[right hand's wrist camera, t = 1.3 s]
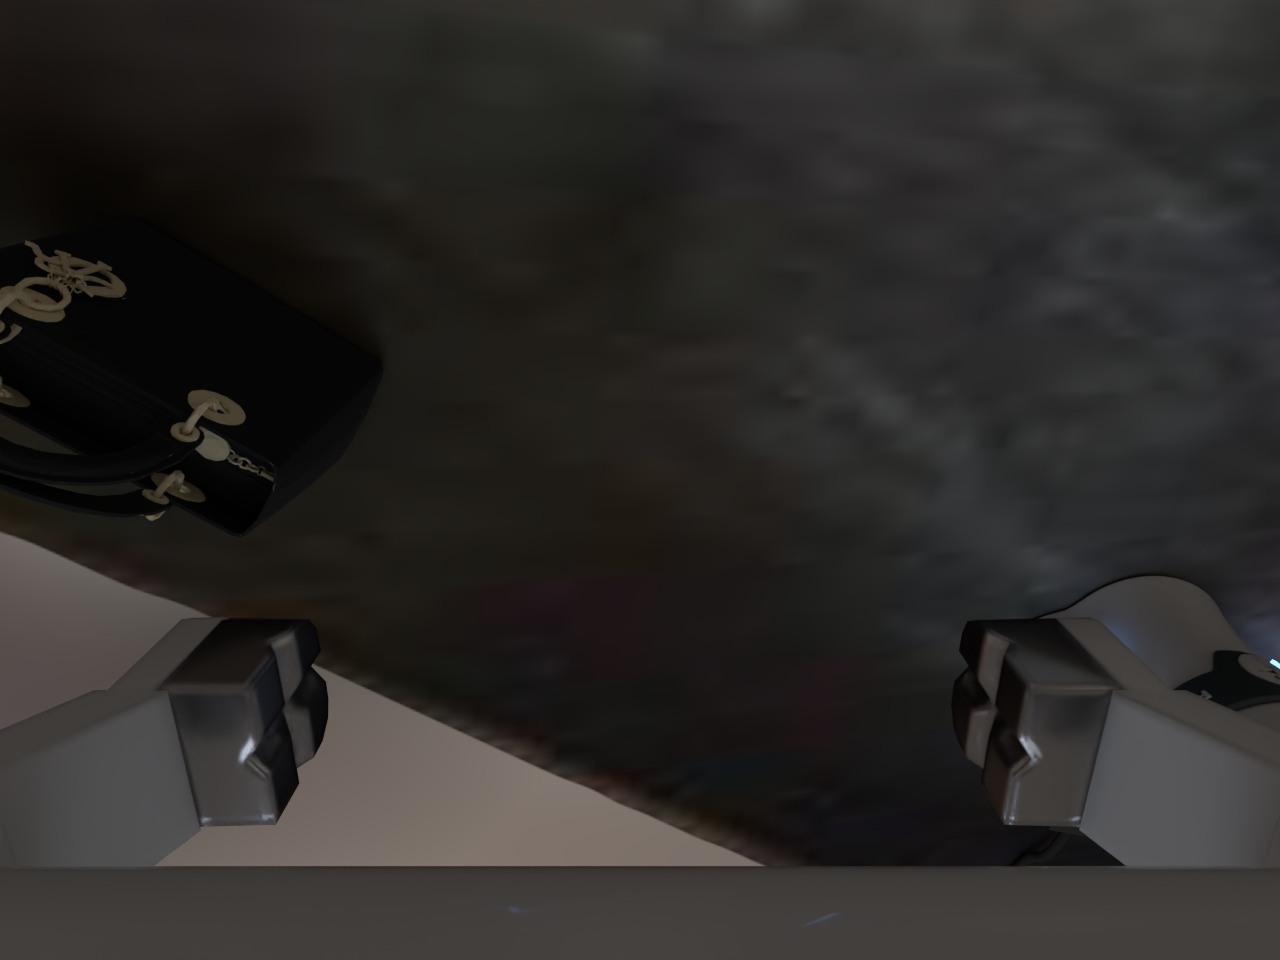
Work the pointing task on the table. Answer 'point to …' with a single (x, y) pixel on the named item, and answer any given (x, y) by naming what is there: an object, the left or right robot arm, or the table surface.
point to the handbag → (166, 381)
